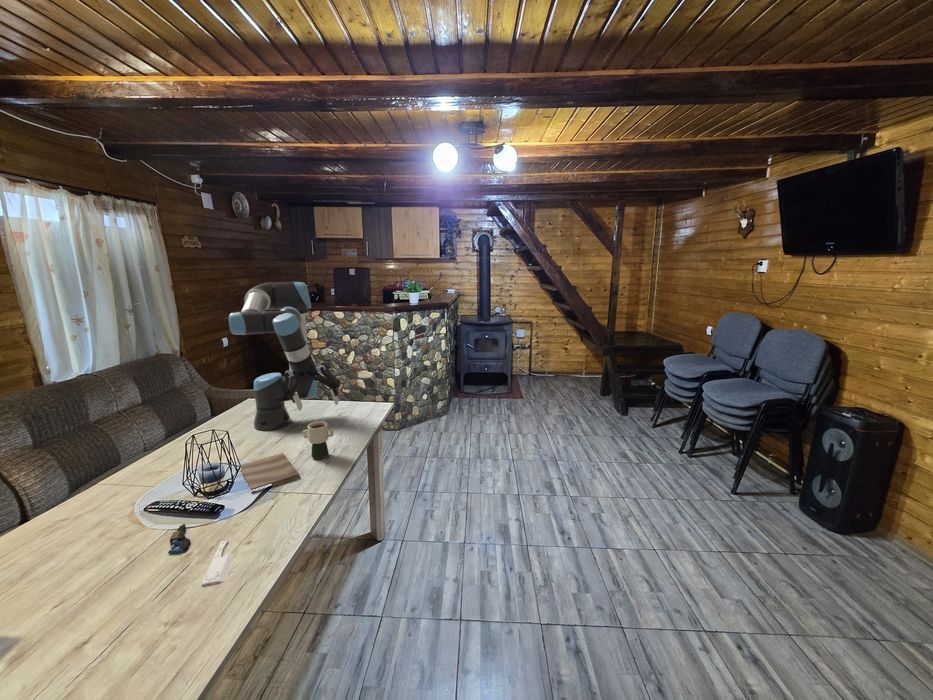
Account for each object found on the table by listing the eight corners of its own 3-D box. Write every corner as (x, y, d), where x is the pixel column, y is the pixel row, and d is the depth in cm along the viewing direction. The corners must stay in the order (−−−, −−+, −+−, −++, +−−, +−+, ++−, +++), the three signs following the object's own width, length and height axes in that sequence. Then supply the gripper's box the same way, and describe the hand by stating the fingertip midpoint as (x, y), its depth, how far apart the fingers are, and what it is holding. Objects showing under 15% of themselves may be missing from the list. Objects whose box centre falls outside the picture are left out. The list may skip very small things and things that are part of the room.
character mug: (336, 451, 157) (334, 420, 154) (333, 460, 150) (330, 427, 147) (307, 453, 155) (304, 422, 153) (303, 462, 148) (299, 429, 146)
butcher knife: (242, 540, 107) (242, 537, 106) (226, 583, 93) (225, 579, 92) (221, 544, 105) (220, 540, 105) (201, 587, 91) (200, 583, 91)
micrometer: (185, 547, 102) (162, 552, 100) (186, 553, 102) (163, 558, 101) (198, 519, 113) (177, 523, 111) (199, 525, 113) (178, 528, 111)
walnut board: (239, 468, 144) (238, 465, 143) (283, 456, 153) (283, 452, 152) (251, 493, 128) (250, 488, 128) (299, 477, 137) (299, 473, 137)
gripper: (259, 368, 133) (282, 417, 144) (333, 357, 134) (350, 406, 144) (267, 357, 140) (288, 404, 151) (337, 346, 140) (354, 394, 151)
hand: (319, 405), depth 147 cm, fingers open, 13 cm apart
